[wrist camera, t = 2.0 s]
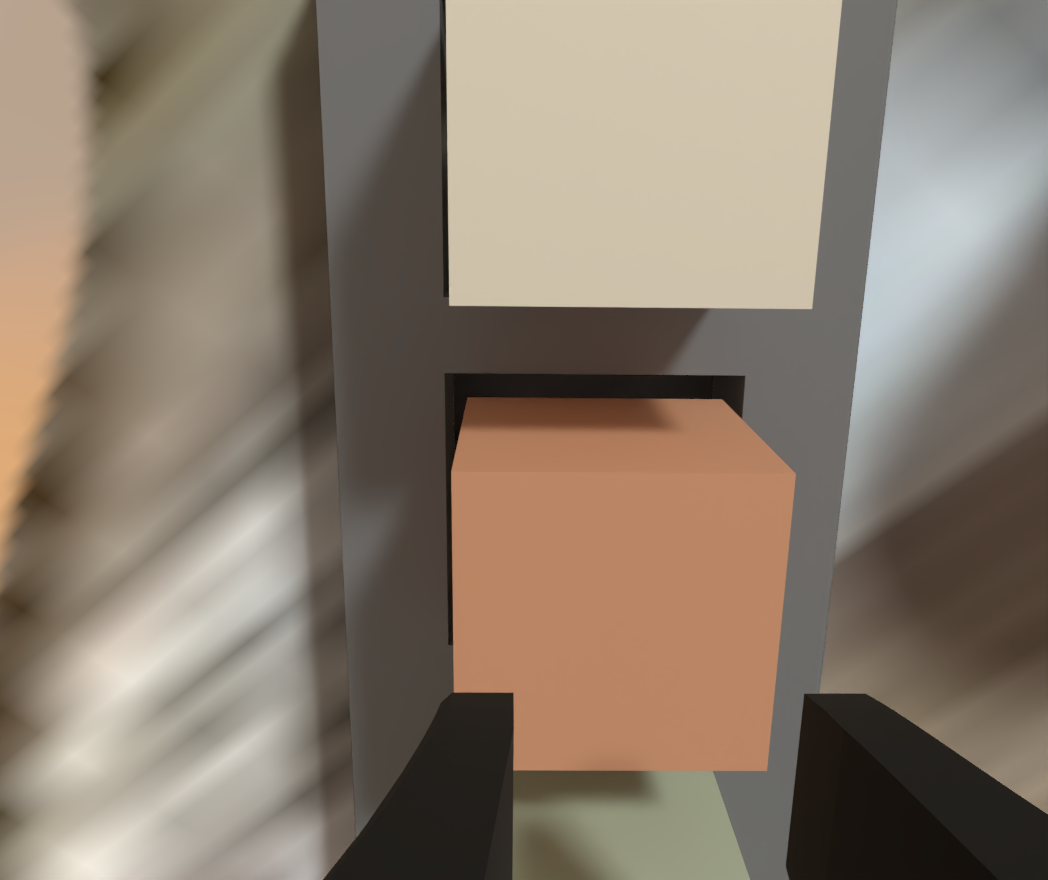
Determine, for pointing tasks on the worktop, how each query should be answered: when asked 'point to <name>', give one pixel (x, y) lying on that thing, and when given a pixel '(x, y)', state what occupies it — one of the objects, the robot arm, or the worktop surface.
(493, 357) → the compartment tray
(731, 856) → the block sage
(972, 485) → the worktop surface
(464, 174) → the block cream
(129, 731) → the worktop surface
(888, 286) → the worktop surface
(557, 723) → the block terracotta
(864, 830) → the robot arm
